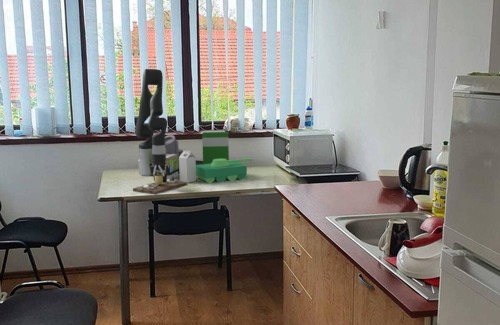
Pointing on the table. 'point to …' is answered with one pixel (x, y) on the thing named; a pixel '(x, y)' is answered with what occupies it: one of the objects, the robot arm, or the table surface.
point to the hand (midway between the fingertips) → (160, 181)
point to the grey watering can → (172, 147)
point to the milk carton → (187, 166)
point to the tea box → (171, 165)
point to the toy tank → (222, 170)
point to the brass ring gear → (159, 179)
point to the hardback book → (215, 146)
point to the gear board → (160, 186)
